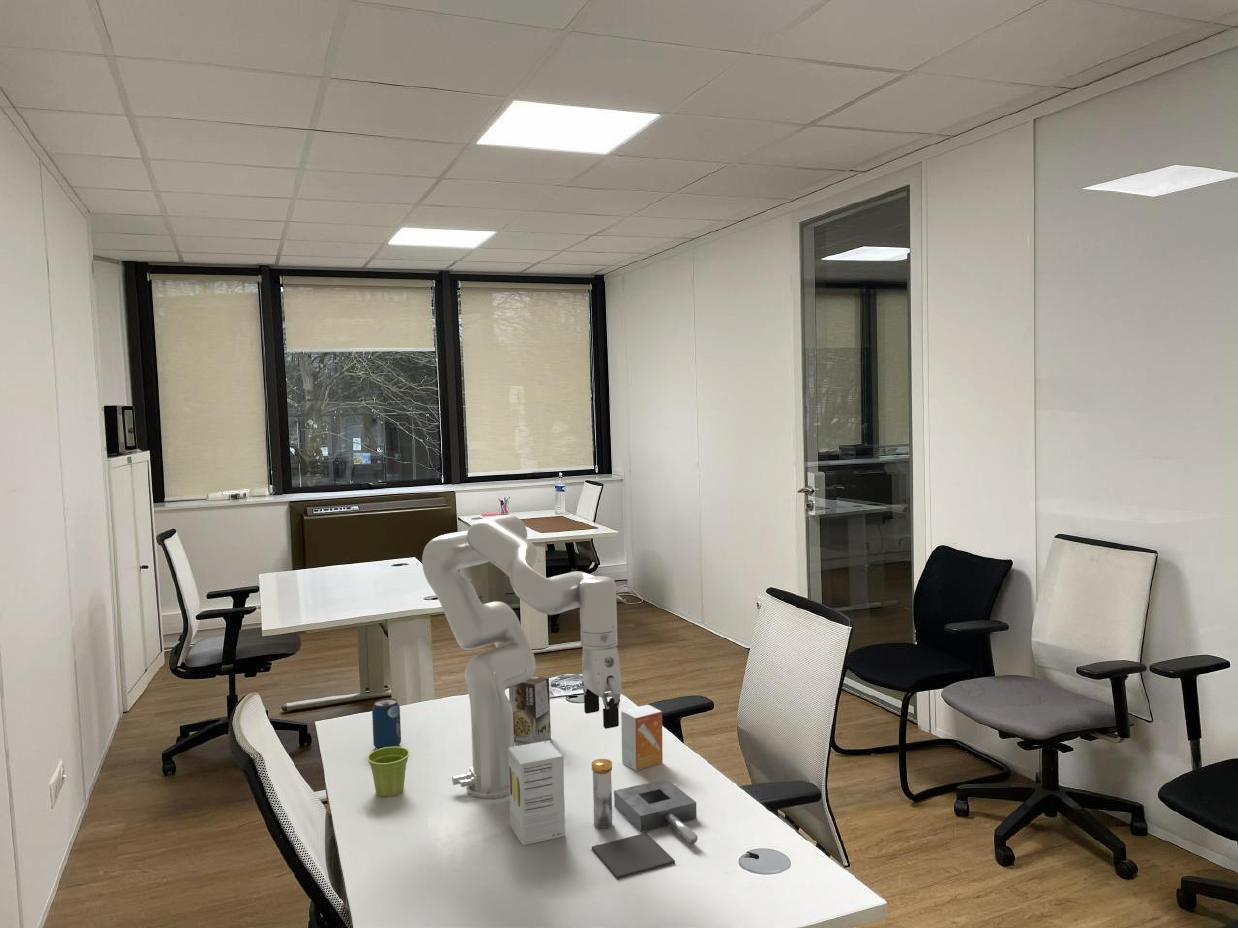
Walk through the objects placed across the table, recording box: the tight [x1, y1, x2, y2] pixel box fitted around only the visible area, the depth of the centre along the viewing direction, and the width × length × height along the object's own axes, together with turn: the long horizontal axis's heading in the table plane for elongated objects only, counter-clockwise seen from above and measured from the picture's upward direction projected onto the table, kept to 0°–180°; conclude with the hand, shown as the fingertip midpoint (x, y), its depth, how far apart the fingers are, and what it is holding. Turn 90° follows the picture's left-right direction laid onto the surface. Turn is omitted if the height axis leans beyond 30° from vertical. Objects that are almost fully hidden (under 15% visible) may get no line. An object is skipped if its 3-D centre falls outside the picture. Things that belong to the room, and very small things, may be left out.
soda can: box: [371, 697, 402, 750], centre depth 220 cm, size 7×7×12 cm
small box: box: [620, 704, 664, 772], centre depth 206 cm, size 8×6×13 cm
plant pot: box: [366, 746, 411, 798], centre depth 194 cm, size 9×9×9 cm
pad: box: [591, 832, 676, 880], centre depth 163 cm, size 12×12×1 cm
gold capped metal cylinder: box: [591, 758, 613, 830], centre depth 176 cm, size 4×4×13 cm
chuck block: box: [613, 778, 698, 845], centre depth 176 cm, size 13×23×4 cm, turn 25°
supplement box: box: [508, 740, 566, 846], centre depth 174 cm, size 10×9×17 cm
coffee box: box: [508, 674, 552, 744], centre depth 224 cm, size 9×6×16 cm
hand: (601, 719), depth 175 cm, fingers open, 9 cm apart
